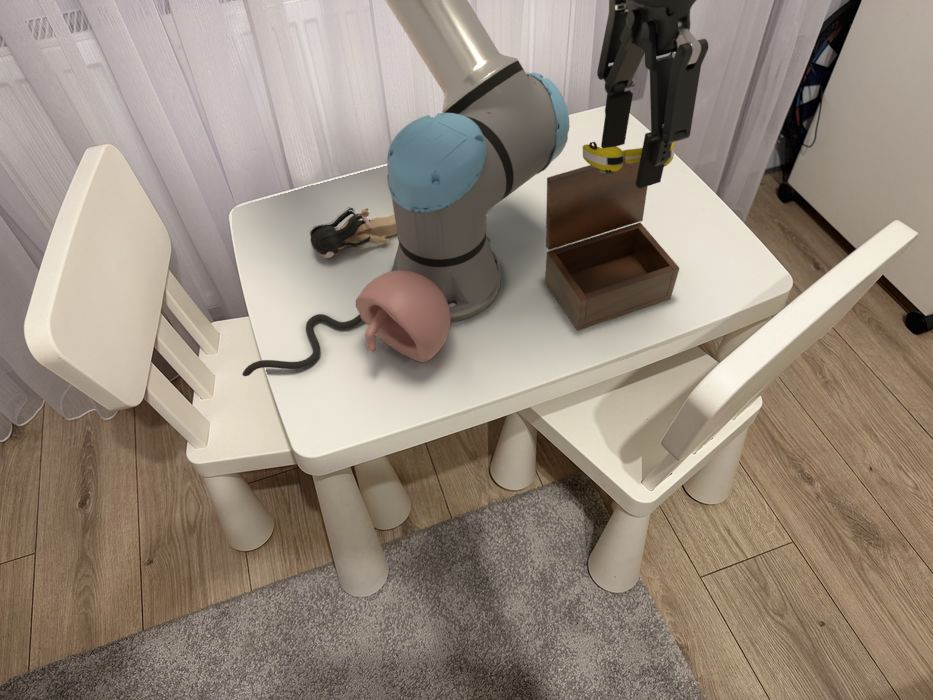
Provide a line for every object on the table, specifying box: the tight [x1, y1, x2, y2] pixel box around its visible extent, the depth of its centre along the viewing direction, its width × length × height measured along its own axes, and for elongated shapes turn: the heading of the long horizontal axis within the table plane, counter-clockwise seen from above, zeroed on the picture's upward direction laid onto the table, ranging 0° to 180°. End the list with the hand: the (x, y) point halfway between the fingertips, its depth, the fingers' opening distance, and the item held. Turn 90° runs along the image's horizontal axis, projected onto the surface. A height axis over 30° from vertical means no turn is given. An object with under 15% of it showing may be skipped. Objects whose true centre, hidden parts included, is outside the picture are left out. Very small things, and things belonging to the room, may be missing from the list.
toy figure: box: [309, 206, 398, 259], centre depth 100 cm, size 7×6×15 cm
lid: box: [545, 161, 649, 251], centre depth 88 cm, size 11×14×1 cm
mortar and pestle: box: [354, 270, 451, 363], centre depth 84 cm, size 12×12×12 cm
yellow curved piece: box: [582, 141, 675, 175], centre depth 76 cm, size 10×6×4 cm, turn 97°
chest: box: [544, 222, 680, 332], centre depth 91 cm, size 10×14×6 cm
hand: (629, 163), depth 77 cm, fingers closed on yellow curved piece, 7 cm apart
